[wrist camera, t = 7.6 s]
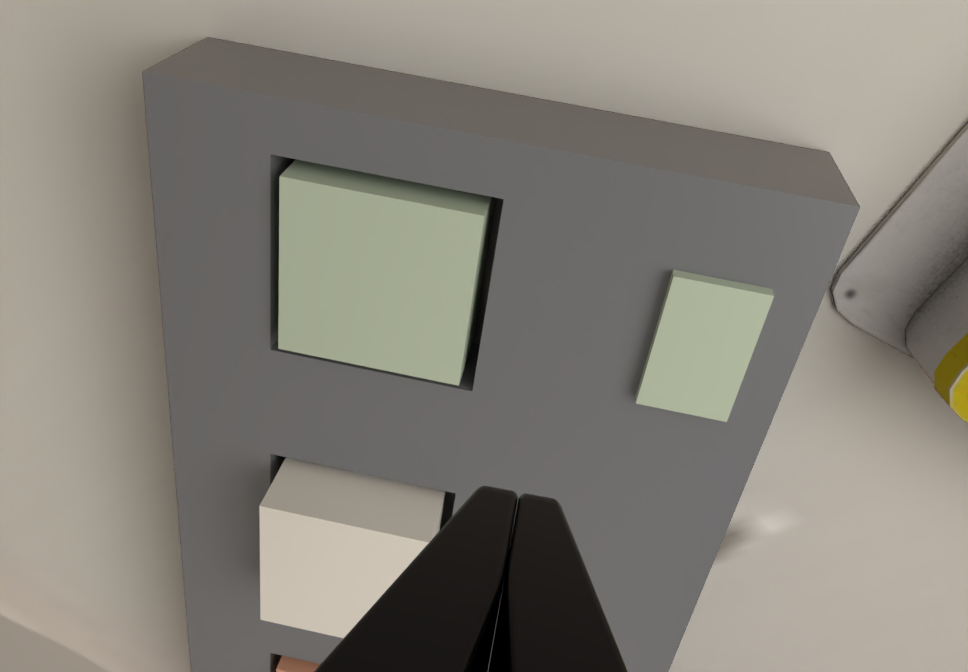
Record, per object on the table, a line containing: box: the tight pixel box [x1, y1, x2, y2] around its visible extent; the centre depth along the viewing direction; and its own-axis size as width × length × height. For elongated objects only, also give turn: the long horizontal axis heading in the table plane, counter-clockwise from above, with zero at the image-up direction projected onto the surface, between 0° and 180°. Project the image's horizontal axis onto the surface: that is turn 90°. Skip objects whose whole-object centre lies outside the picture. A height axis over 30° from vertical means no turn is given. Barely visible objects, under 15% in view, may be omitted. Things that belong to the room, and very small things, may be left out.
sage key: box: [278, 159, 496, 386], centre depth 19 cm, size 4×4×2 cm
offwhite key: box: [259, 457, 446, 638], centre depth 22 cm, size 4×4×2 cm
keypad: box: [142, 37, 860, 672], centre depth 24 cm, size 23×14×3 cm, turn 172°
